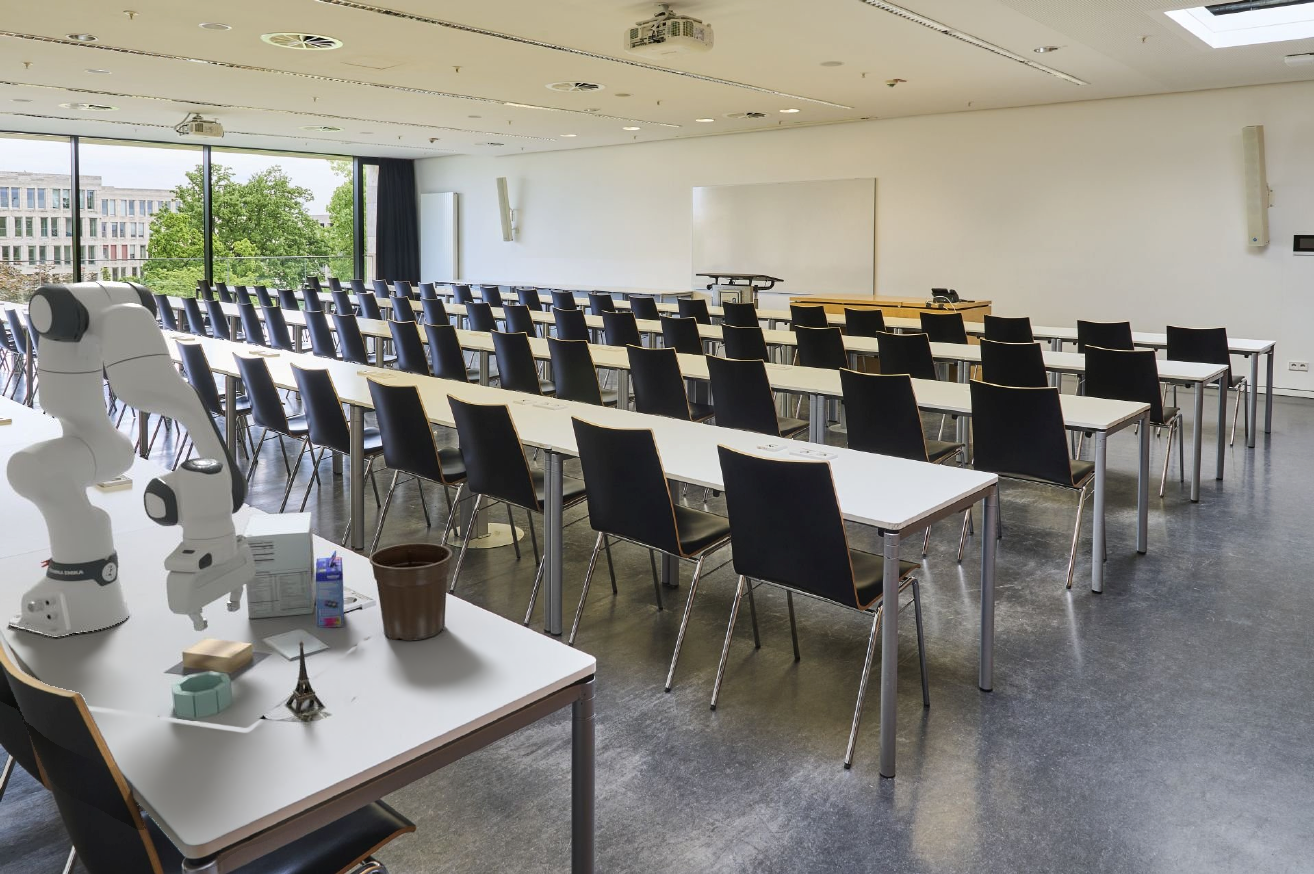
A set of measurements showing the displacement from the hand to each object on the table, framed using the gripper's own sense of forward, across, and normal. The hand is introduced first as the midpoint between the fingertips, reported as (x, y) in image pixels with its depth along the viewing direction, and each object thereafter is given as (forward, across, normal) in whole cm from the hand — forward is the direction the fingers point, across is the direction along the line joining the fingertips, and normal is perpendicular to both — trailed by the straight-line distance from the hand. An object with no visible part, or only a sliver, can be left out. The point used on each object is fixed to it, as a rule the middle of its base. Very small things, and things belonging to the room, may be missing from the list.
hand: (218, 619), depth 182 cm
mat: (+9, 0, -1) cm, 9 cm away
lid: (+9, 0, -1) cm, 9 cm away
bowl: (+9, +15, +7) cm, 19 cm away
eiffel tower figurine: (+11, +11, +23) cm, 28 cm away
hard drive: (+10, -11, +8) cm, 17 cm away
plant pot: (+10, -25, +26) cm, 38 cm away
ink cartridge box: (+10, -25, +7) cm, 28 cm away
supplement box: (+9, -31, -8) cm, 34 cm away
